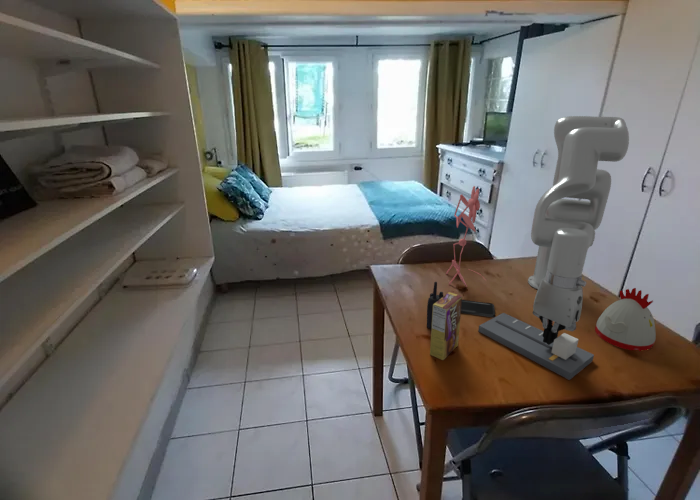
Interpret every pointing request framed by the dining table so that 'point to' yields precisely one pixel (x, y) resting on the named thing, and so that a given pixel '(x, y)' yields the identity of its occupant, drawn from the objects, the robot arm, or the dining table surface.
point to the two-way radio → (431, 301)
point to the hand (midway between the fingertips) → (548, 341)
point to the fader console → (533, 345)
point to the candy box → (445, 325)
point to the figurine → (473, 206)
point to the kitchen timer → (628, 322)
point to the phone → (477, 308)
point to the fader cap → (564, 346)
